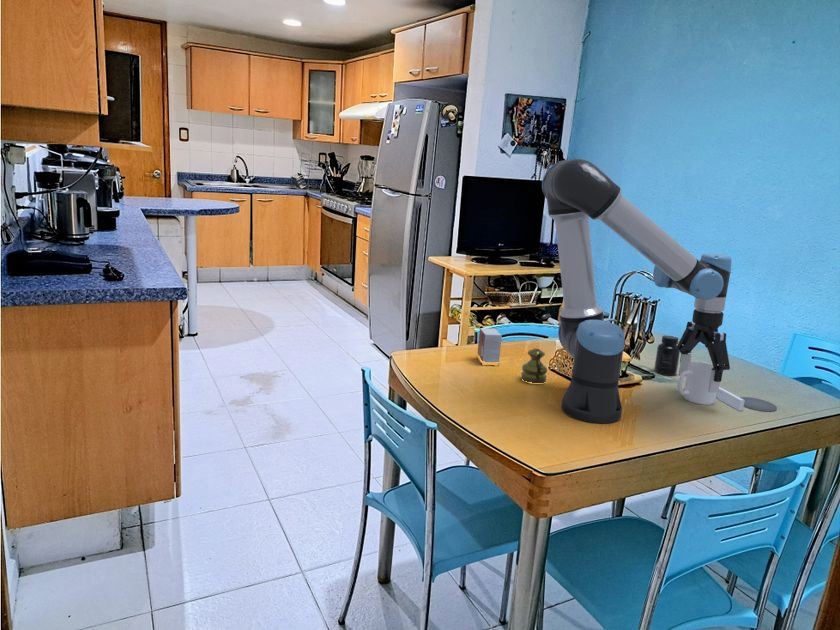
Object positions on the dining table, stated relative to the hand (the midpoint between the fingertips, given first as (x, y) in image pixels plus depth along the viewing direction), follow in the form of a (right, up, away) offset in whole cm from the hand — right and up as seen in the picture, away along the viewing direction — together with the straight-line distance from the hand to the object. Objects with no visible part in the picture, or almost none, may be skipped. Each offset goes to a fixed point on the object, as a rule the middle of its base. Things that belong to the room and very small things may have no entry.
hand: (697, 383), depth 166 cm
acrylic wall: (+8, -5, +2) cm, 10 cm away
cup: (-1, -5, +1) cm, 5 cm away
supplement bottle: (+1, 0, +25) cm, 25 cm away
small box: (-56, +4, +25) cm, 62 cm away
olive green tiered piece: (-45, -1, +9) cm, 46 cm away
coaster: (+17, -6, 0) cm, 18 cm away
